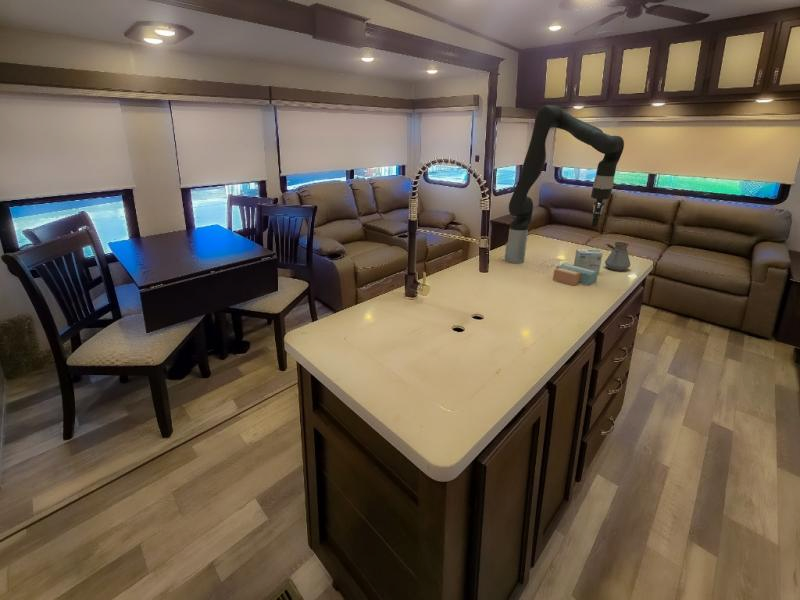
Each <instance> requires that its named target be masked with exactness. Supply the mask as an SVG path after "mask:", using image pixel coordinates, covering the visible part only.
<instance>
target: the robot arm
mask: <svg viewBox="0 0 800 600" xmlns="http://www.w3.org/2000/svg"><path fill="white" fill-rule="evenodd" d="M535 116H536V117H535V120H534V125H533V130H532V135H531V138H530V141H529V145H528V149H527V151H526V155H525V157H524V161H523V164H522V167H521V171H520V174H519V177H518V181H517V183H516V186H515V188H514V190H513V193H512V196H511V198H510V201H509V203H508V212H509V214H510V215H511V216H513V217H515V218H514V219H513V220H512V221H511V222H510V224H509V230H508V238H507V242H506V243H505V250H504V253H505V254H504V259H503V260H504V261H506V262H508V263H511V264H523V263H524V262H525V257H526V250H527V249H526V247H527V241H528V232H529V227H530V225H531V222H532V218H533V211H534V203H533V199H532V198H531V197H530V196H528V194H529V191H530V190H531V188H532V187H533V185H534V184H535V182H536V181H537V180H538V179H539V177H540V176H541V173H542V172H543V168H544V166H545V163H546V159H547V152H546V151H547V150H546V141H547V137H548V134H549V132H550V129H553V128H556V129H559V130H563V131H565V132H567V133H569V134H571V136H572V137H574V138H575V139H576V140H578V141H580V142H581V143H584V144H586V145H587V146H591V147H592V148H593V149H594V150H595V151H597V152H599V153H601V154H603V155H604V156H603V159H602V160H599V162H598V164H597V167H596V173H595V178H594V180H593V183H592V185H593V186H592V189H591V193H590V197H591V198H592V199H595V200H596V201H593V210H592V213H593V215H592V222H591V227H592V228H598V224H599V220H600V217H601V215H602V213H603V209H604V206H605V202H604V200H610V199H611V196H612V191H613V187H614V184H615V183H614V182H615V175H616V170H617V166H618V164H619V161H620V159H621V156H622V154H623V151H624V148H625V140H624V139H623V137H622V136H620V135H611V134H607V133H605V132H603V130H602V129H600V128H599V127H596V126H595V125H592V124H590V123H587V122H586V121H583V120H581V119H578V118H576V117H575V116H573V115H572V114H570V113H569V112H567V111H566V110H565V109H564V108H562V107H560V106H558V105H555V104H546V105H543V106H542V107H540V109H539V110H538V111H537V113H536V115H535Z"/></svg>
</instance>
